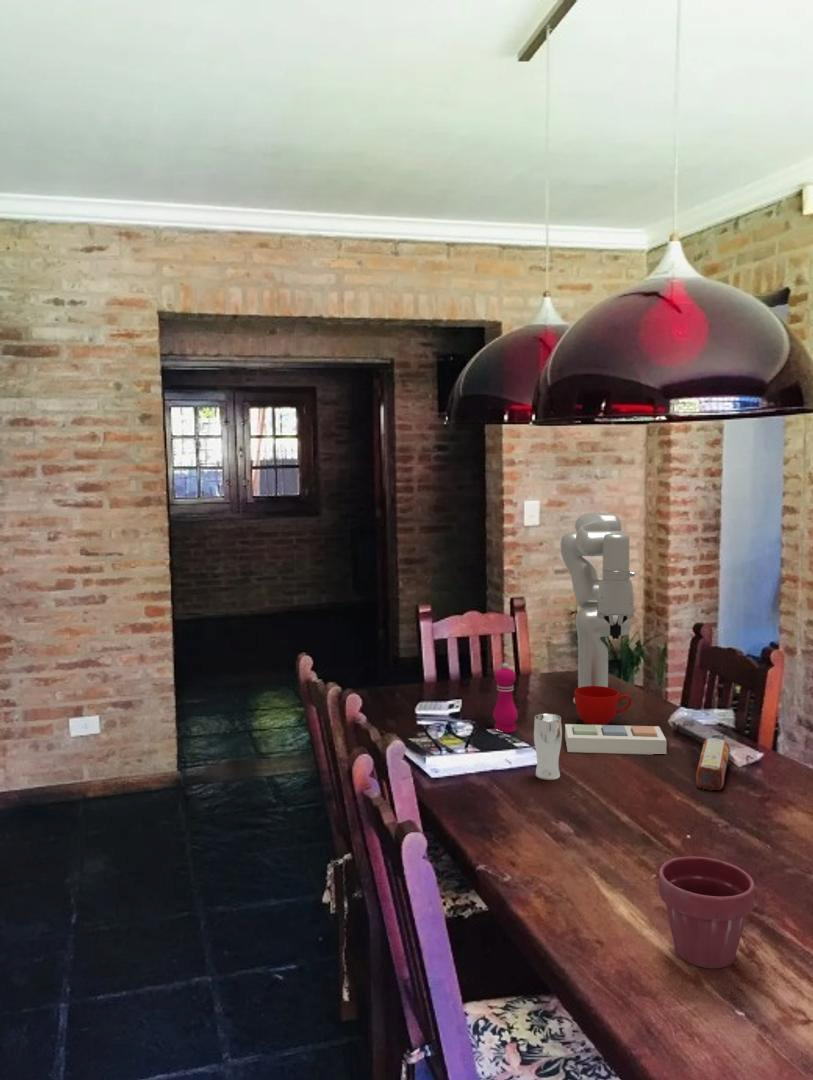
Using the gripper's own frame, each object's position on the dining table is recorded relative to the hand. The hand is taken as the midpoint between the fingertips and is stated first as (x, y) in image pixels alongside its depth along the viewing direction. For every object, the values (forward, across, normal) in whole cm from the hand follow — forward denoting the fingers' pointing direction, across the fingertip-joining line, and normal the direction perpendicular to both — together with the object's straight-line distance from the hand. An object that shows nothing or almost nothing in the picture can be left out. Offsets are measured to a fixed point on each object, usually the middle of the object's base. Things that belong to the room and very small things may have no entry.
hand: (615, 638), depth 245 cm
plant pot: (+27, -1, +115) cm, 118 cm away
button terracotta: (+25, -6, +16) cm, 30 cm away
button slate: (+25, +2, +16) cm, 29 cm away
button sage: (+25, +10, +16) cm, 31 cm away
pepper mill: (+27, +32, +4) cm, 42 cm away
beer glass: (+27, +21, +40) cm, 53 cm away
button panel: (+27, +2, +16) cm, 32 cm away
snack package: (+28, -20, +36) cm, 50 cm away
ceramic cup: (+27, +3, -4) cm, 28 cm away
